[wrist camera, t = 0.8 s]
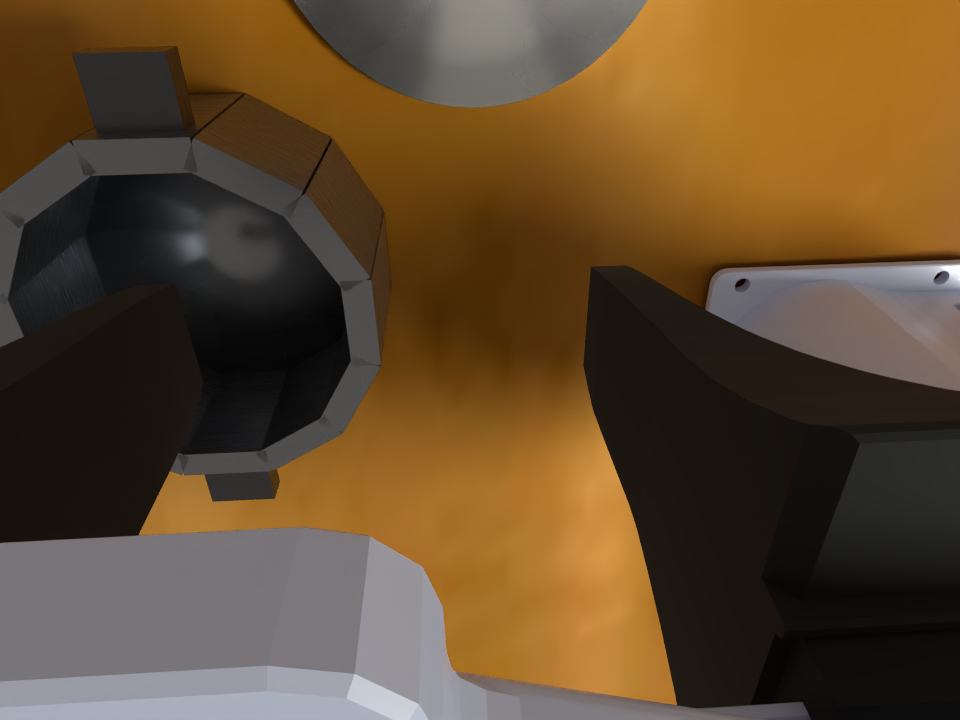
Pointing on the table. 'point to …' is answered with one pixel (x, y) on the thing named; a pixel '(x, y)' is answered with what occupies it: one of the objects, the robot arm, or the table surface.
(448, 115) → the table surface
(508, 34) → the lid
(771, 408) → the robot arm
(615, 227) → the table surface
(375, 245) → the pot
